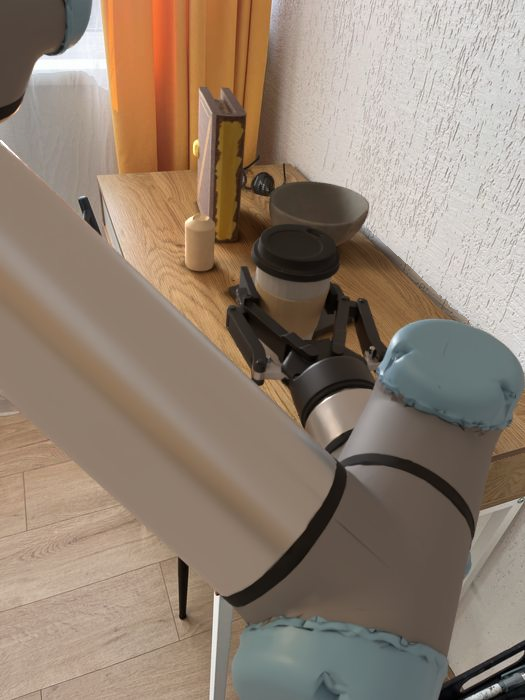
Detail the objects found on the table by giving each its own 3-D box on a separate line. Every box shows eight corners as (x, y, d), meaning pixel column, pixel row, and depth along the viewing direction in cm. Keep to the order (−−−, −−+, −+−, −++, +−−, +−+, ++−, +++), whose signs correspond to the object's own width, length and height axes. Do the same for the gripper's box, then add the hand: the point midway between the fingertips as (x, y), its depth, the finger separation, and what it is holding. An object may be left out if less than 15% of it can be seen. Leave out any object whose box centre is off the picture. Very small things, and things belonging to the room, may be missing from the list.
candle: (186, 256, 104) (186, 208, 97) (214, 258, 104) (216, 210, 98) (183, 270, 100) (183, 221, 93) (212, 272, 100) (214, 224, 94)
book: (244, 241, 111) (254, 116, 95) (204, 242, 109) (207, 115, 93) (226, 197, 127) (231, 84, 111) (190, 197, 125) (191, 82, 109)
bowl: (290, 212, 123) (295, 170, 117) (371, 238, 117) (382, 195, 111) (247, 245, 109) (251, 200, 103) (338, 277, 103) (348, 230, 96)
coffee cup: (324, 337, 67) (348, 229, 57) (313, 386, 60) (338, 272, 50) (252, 321, 68) (263, 213, 58) (233, 368, 61) (242, 253, 51)
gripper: (222, 457, 45) (190, 305, 62) (439, 431, 50) (355, 296, 67) (226, 395, 41) (191, 248, 57) (466, 373, 45) (369, 244, 62)
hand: (279, 274), depth 62 cm, fingers closed on coffee cup, 8 cm apart
